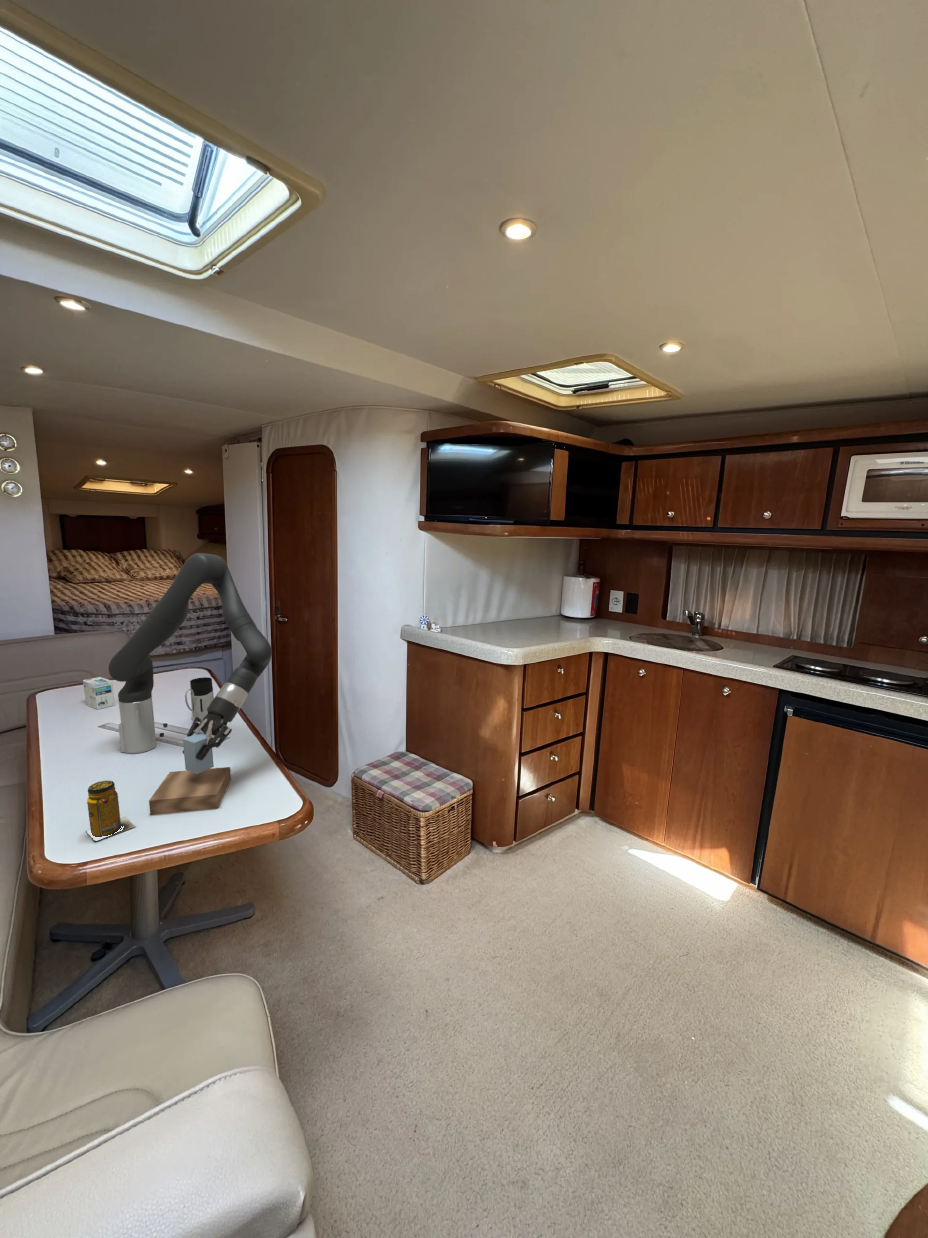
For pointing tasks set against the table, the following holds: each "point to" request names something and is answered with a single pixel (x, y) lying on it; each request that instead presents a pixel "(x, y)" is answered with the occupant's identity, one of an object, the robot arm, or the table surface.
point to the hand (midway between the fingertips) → (192, 756)
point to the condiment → (105, 810)
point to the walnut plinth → (190, 791)
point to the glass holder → (200, 696)
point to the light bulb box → (99, 693)
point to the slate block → (191, 750)
